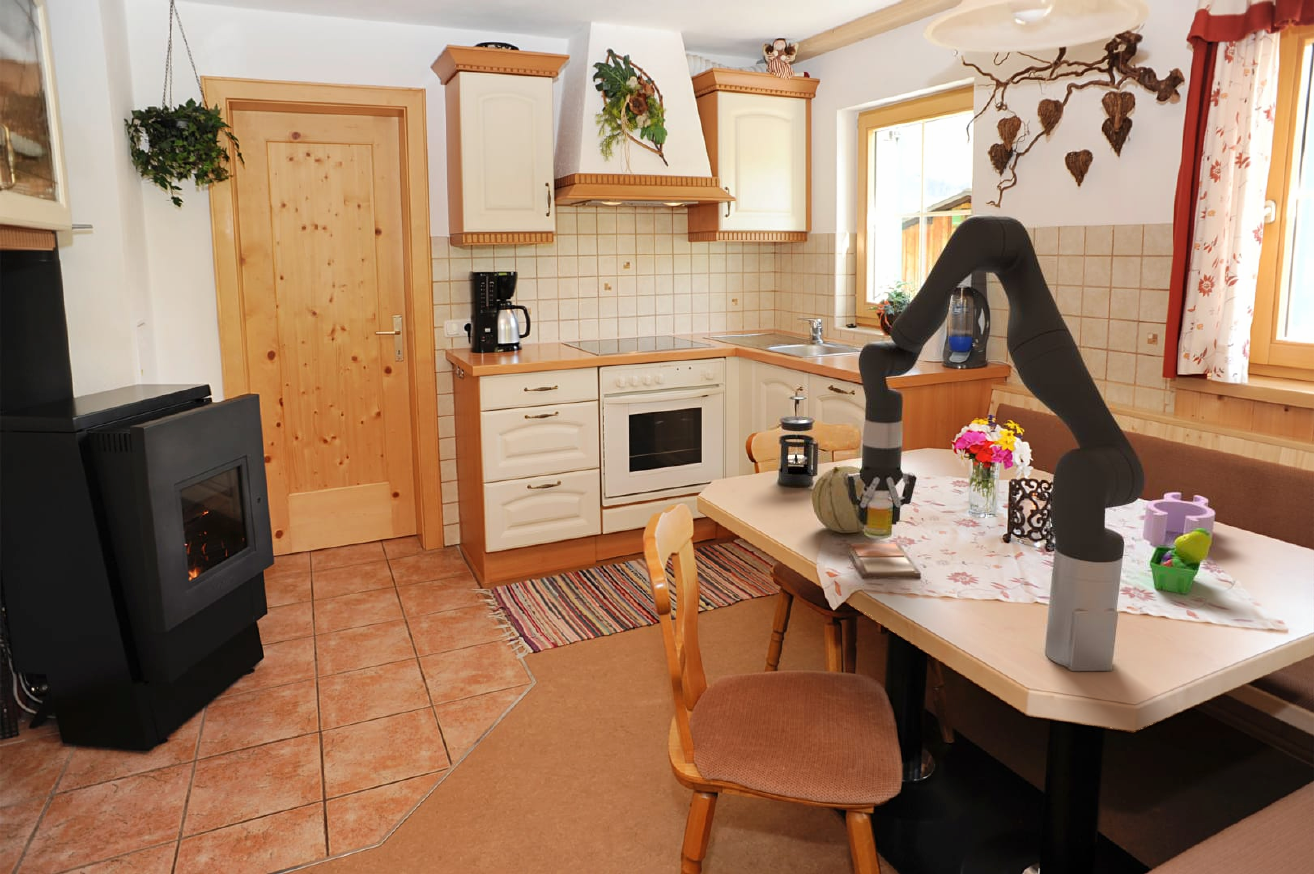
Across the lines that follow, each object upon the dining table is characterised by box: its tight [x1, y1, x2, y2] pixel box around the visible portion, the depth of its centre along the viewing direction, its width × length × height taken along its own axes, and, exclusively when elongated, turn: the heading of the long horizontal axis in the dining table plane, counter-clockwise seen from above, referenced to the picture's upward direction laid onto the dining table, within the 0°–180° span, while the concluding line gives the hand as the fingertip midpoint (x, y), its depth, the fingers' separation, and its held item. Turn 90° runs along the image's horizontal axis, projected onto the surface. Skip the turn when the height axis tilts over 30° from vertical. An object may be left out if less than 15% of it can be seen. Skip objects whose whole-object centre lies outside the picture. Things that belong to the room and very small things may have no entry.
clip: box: [1142, 491, 1216, 547], centre depth 186 cm, size 20×12×7 cm, turn 143°
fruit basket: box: [1149, 528, 1213, 595], centre depth 160 cm, size 11×9×11 cm
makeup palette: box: [845, 542, 922, 579], centre depth 174 cm, size 16×11×1 cm
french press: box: [777, 395, 819, 489], centre depth 227 cm, size 12×9×23 cm
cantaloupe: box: [811, 465, 865, 534], centre depth 191 cm, size 15×15×15 cm
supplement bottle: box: [863, 490, 893, 540], centre depth 176 cm, size 5×5×10 cm
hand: (878, 523), depth 176 cm, fingers closed on supplement bottle, 5 cm apart
